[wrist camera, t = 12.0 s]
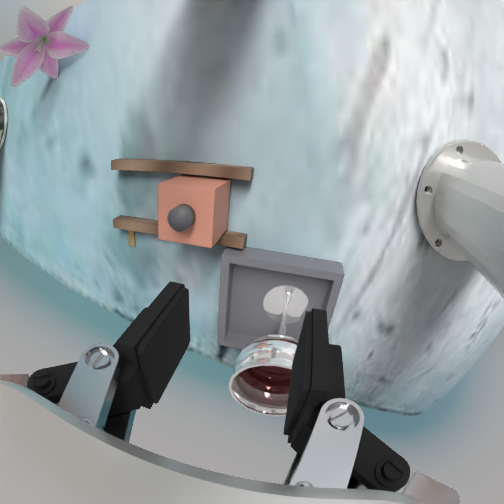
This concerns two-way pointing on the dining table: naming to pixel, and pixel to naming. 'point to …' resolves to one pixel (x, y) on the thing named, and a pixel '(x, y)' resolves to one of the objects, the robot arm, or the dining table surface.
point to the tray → (261, 282)
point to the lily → (41, 44)
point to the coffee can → (3, 121)
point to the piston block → (193, 209)
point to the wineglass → (269, 357)
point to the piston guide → (183, 168)
